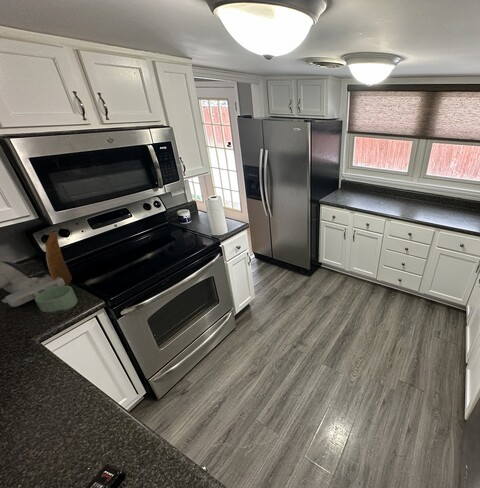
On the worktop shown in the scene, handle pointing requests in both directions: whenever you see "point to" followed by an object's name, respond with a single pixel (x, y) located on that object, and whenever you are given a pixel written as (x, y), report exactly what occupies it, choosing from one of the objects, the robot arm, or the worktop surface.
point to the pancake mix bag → (56, 260)
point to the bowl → (56, 299)
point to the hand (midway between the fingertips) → (46, 294)
